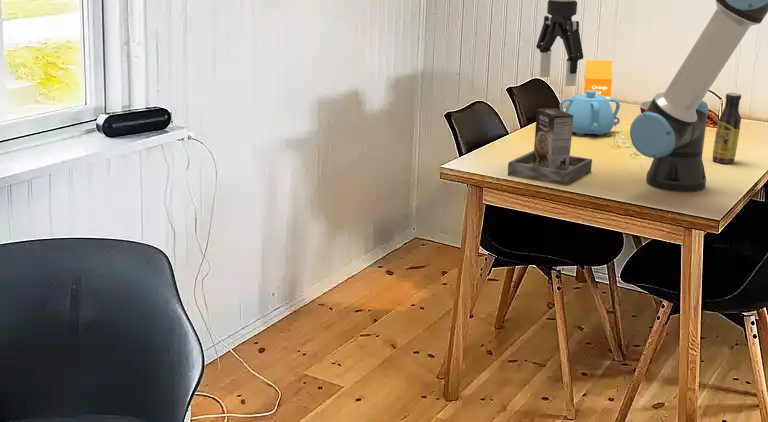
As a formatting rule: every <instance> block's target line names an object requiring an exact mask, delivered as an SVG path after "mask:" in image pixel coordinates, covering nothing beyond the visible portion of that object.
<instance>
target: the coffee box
mask: <svg viewBox="0 0 768 422" xmlns="http://www.w3.org/2000/svg"><path fill="white" fill-rule="evenodd" d="M572 126H573V115H571V114H569V113H567V112H565V110H564V111H562V110H560V108H553V107H552V108H537V109H536V117H535V131H534V133H535V134H534V148H533V151H534V159H533V166H539V167H545V168H550V169H556V170H562V171H567V170H569V159H570V156H571V147H572V146H571V145H572V135H573V132H572Z"/></svg>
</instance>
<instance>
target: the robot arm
mask: <svg viewBox="0 0 768 422" xmlns="http://www.w3.org/2000/svg"><path fill="white" fill-rule="evenodd" d="M715 3H716V10H715V11H714V13H713V15H711V18H710V19H709V20H708V22H707V24H706V25H705V27H704V28H703V30H702V32H701V33H700V35H699V37H698V38H697V40H696V41H695V43H694V45H693V46H692V48H691V49H690V51H689V52H688V54H687V56H686V58H685V59H684V61H682V63H681V65H680V67H679V69H678V70H677V72H676V73H675V75H674V76H673V78H672V79H671V81H670V82H669V84H668V86H667V88H666V89H665V90H664V92H660V93H656V94H655V96H654V97H653V98H652V99H651V100H650V101H651V103H650V105H649V106H648V108H647V109H646V111H645V112H644V113H641V112H640V113H639V115H637V116H636V117H635V118H634V119H633V120H632V122H631V124H630V128H629V129H630V130H629V137H630V140H631V144H632V145H633V147H634V148H635V150H636V151H637V152H638V153H640V154H641V155H642V156H644V157H647V158H650V159H651V158H652V159H653V160H652V162H651V164H650V167H649V169H648V171H647V172H646V179H645V182H646V184H648V185H650V186H651V187H653V188H657V189H659V190H660V189H661V190H664V191H672V192H681V193H682V192H683V193H684V192H685V193H686V192H687V193H689V192H698V191H702V190H703V189H706V185H707V177H706V170H705V167H704V162H703V151H704V143H705V137H706V128H707V121H708V120H707V119H708V116H709V113H708V107H709V105H708V103H707V102H706V101H705V100H703V99H704V98H705V96H706V95H707V93H708V92H709V90H710V89H711V88H712V86H713V84H714V83H715V81H717V80H716V79H718V77H719V75H720V73H721V72H722V70H723V69H724V67H725V66H726V64H727V62H728V61H729V60H730V58H731V57H732V55H733V54H734V52H735V50H736V49H737V47H738V46H739V44H740V43H741V41H742V40H743V38H744V37H745V35H746V34H747V32H748V30H749V29H750V28H751V27H752V26H757V25H760V24H761V23H762V21H763V20H764V18H765V17H766V15H767V14H768V0H715ZM546 7H547V10H546V13H547V14H548V15H544V16H543V24H542V27H541V30H540V34H539V37H538V40H537V43H536V47H535V48H536V49H537V50H539V53H540V61H539V63H540V64H539V74H538V75H539V78H550V75H551V59H552V47H553V45H554V43H555V41H556V39H557V37H559V38H560V39H561V40H562V43H563V46H564V48H565V51H566V56H567V59H566V66H565V67H566V68H565V78H564V80H565V81H564V86H565V87H576V84H577V82H576V81H577V72H578V64H579V63H578V62H579V61H580V60H583V59H584V52H583V46H582V41H581V34H580V22H579V21H578V20H573V19H572V18H573V17H574V16H576V15H577V12H578V1H577V0H547V6H546Z"/></svg>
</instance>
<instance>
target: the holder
mask: <svg viewBox="0 0 768 422" xmlns="http://www.w3.org/2000/svg"><path fill="white" fill-rule="evenodd" d="M533 159H534V150H532V151H530V152H528V153H525V154H522V155H521V156H519V157H517V158H515V159H512V160H511V161H509V162H508V164H507V176H511V175H512V177H517V178H522V179H528V180H535V181H539V182H540V181H541V182H545V183H550V184H551V183H552V184H556V185H562V186H569V184H572V183H574V182H575V181H577V180H579V179H580V178H583V177H584V176H586V175H588V174H589V173H591V172H592V164H593V159H592V158H587V157H582V156H581V157H580V156H575V155H570V159H569V170H567V171H562V170H556V169H550V168H545V167H539V166H533Z"/></svg>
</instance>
